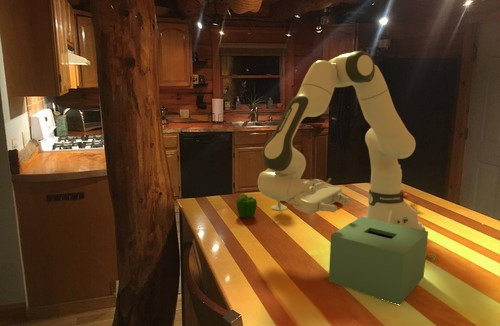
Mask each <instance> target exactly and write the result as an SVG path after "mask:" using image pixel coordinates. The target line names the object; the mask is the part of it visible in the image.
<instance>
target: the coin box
mask: <svg viewBox="0 0 500 326" xmlns="http://www.w3.org/2000/svg"><path fill="white" fill-rule="evenodd" d="M428 238H429V231H427V230H419V229H414V228H410V227H406V226H401V225H397V224H392V223H388V222H383V221H379V220H374V219H370V218H366V216H365V217H364V216H360V217H358V218H356V219H355V220H353V221H352V222H350V223H348V224H347V225H345V226H343V227H342V228H340V229H338V230H336V231H334V232H333V233H332V234H331V235H330V245H329V246H330V249H329V265H328V266H329V270H328V271H329V272H328V282H330V283H333V284H335V285H338V286H341V287H344V288H347V289H349V290H352V291H355V292H358V293H360V294H361V293H362V294H364V295H366V294H367V296H369V295H370V297H372V296H374V297H373V298H375V297H376V298H375V299H378V298H379V299H378V300H381V299H383V300H382V301H384V300H385V301H384V302H387V301H389V302H392V303H396V304H399V305H400V304H401V303H402V302H403V303H404V302H405V300H406V299H407V298H408V297H409V296H410V294H411V293H412V292H413V291H414V289H415V288H416V287H417V286H418V285H419V284H420V282H422V280H423V279H424V277H425V267H426V259H427V256H426V254H427V246H428ZM422 278H423V279H422ZM421 279H422V280H421ZM417 284H418V285H417ZM416 285H417V286H416ZM412 290H413V291H412ZM411 291H412V292H411ZM407 296H408V297H407ZM406 297H407V298H406ZM405 298H406V299H405ZM404 299H405V300H404ZM389 302H388V303H389ZM392 303H391V304H392ZM403 303H402V304H403ZM402 304H401V305H402ZM401 305H400V306H401Z"/></svg>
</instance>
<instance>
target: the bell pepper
mask: <svg viewBox="0 0 500 326" xmlns="http://www.w3.org/2000/svg"><path fill="white" fill-rule="evenodd" d="M257 204H258V203H257V200H256V198H254V197H253V196H248V195H247V194H245V193H240V198H239V197H238V198H237V199H236V209H237V212H238V213H237V214H238V215H239V217H240V218H242V219H243V218H244V219H245V218H247V219H252V218H253V217H254V216H255V214H256V210H257Z"/></svg>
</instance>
